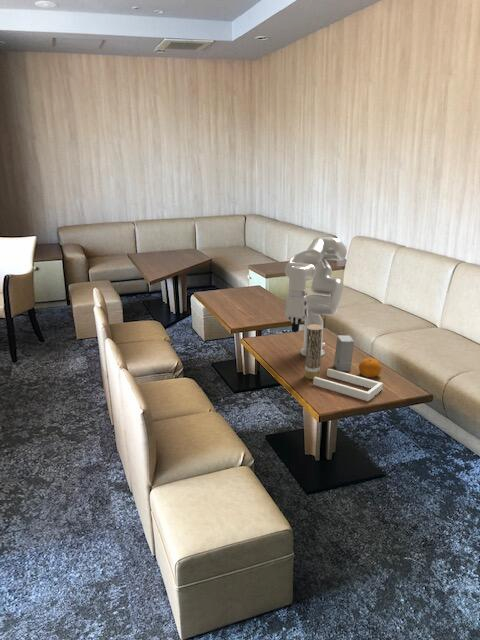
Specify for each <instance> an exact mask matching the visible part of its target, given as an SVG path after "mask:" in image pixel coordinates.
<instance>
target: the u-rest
mask: <svg viewBox="0 0 480 640" xmlns="http://www.w3.org/2000/svg"><path fill="white" fill-rule="evenodd" d="M326 377H329V378H332V379H336V380H338V381H343V382H345V383H346V382H347V383H350V384H353V385H357V386H361V387H363V386H364V388H368V389H369V390H368V391H366V390H362V389H359V388H355V387H353V386H349V385H345V384H342V383H338V382H336V381H331V380H328V379H324V378H322V377H319V378H318V377H314V380H313V383H312V385H314V386H316V387H319V388H323V389H327V390H329V391H333V392H336V393H340V394H343V395H346V396H349V397H353V398H356V399H359V400H363V401H366V402H370V401H371V400H372V399H374V398H375V397H376V396H377V395H379V392H380V391H381V390H382V391H383V386H384V383H383V382H380V381H377V380H373V379H369V378H367V377H362V376H358V375H354V374H352V373H347V372H345V371H338V370H337V369H334V368H327V372H326ZM370 388H371V389H370ZM382 391H381V392H382ZM381 392H380V393H381ZM375 395H376V396H375Z"/></svg>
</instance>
